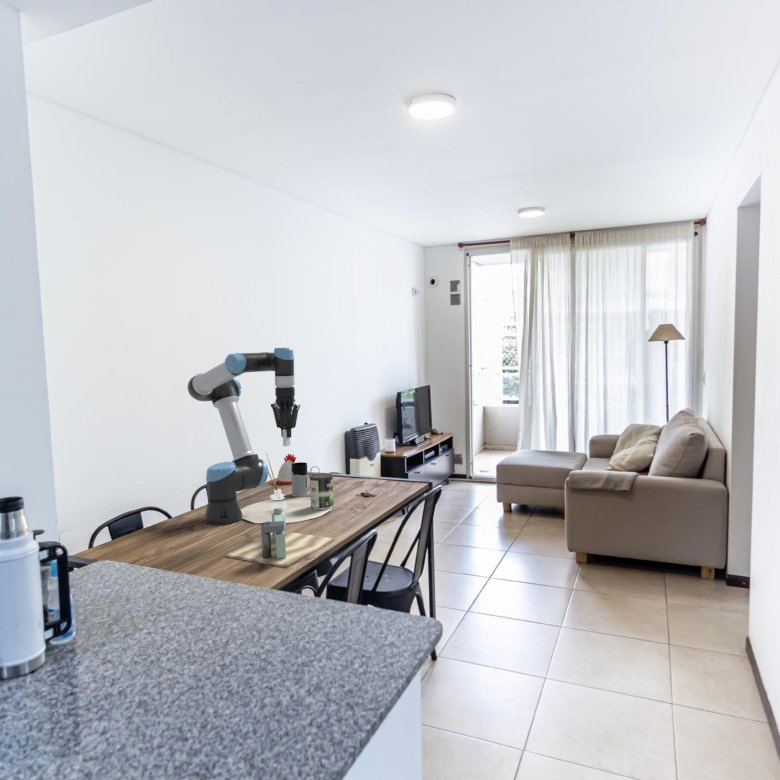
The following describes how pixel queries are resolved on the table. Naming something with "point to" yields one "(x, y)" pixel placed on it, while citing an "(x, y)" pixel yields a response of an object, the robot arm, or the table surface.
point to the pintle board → (295, 548)
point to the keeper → (269, 536)
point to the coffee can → (321, 491)
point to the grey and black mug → (300, 479)
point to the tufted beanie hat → (286, 470)
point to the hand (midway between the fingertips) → (286, 445)
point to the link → (280, 535)
